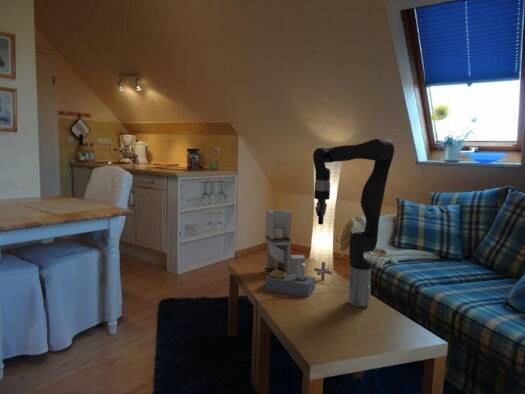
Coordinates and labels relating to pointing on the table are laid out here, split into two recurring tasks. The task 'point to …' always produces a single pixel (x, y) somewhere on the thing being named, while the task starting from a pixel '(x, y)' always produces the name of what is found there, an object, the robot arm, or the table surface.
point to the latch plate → (279, 274)
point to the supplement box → (295, 262)
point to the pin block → (291, 285)
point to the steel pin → (301, 271)
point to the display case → (278, 240)
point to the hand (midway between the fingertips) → (320, 224)
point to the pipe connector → (323, 271)
